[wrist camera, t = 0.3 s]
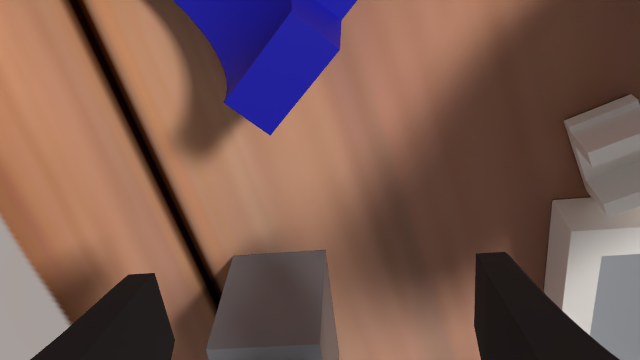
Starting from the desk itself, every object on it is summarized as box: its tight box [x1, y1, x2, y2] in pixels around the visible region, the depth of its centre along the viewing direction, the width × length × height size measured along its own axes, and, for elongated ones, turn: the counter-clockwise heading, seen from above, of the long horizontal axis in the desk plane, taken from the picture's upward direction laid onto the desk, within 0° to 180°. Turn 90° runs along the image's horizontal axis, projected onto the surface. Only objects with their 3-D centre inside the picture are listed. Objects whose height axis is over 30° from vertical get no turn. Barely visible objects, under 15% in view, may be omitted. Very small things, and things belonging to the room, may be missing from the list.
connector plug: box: [206, 250, 339, 360], centre depth 23 cm, size 6×4×6 cm, turn 6°
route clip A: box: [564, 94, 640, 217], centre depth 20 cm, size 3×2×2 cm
